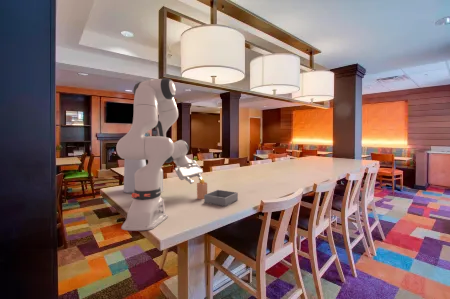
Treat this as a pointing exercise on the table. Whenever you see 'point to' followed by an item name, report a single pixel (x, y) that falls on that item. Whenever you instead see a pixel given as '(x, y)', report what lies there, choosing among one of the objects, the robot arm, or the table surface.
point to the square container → (201, 190)
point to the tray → (221, 197)
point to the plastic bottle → (131, 173)
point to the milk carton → (161, 180)
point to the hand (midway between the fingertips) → (197, 181)
